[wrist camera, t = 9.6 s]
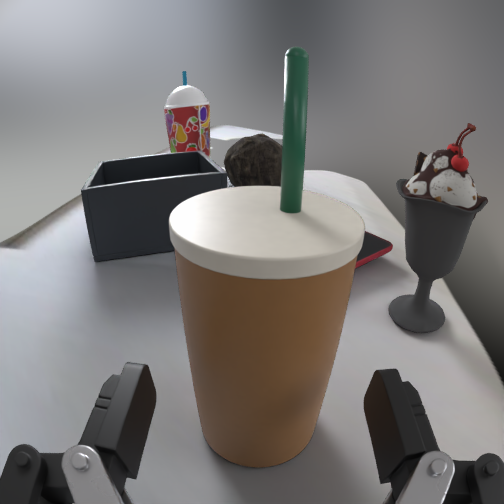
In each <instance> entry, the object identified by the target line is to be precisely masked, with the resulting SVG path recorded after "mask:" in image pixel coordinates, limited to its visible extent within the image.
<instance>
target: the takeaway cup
mask: <svg viewBox="0 0 504 504" xmlns="http://www.w3.org/2000/svg"><path fill="white" fill-rule="evenodd" d="M308 66H309V57H308V54H307V52H306V51H305V50H304V49H303V48H301V47H293V48H290V49H289V50H288V51H287V52H286V54H285V81H284V118H283V146H282V170H281V187H278V186H241V187H231V188H224V189H219V190H214V191H210V192H206V193H202V194H199V195H196V196H194V197H192V198H189V199H187V200H185V201H184V202H182V203H180V204H179V205H178V206H177V207H176V208H175V209H174V210H173V211H172V213H171V214H170V217H169V231H170V240H171V242H172V244H173V246H174V249H175V258H176V267H177V276H178V285H179V293H180V301H181V308H182V315H183V323H184V330H185V336H186V343H187V349H188V356H189V362H190V368H191V374H192V379H193V385H194V391H195V396H196V401H197V407H198V412H199V417H200V422H201V427H202V432H203V434H204V437H205V439H206V441H207V442H208V444H209V445H210V446H211V448H212V449H213V450H214V451H215V452H216V453H217V454H219V455H220V456H222V457H223V458H225V459H227V460H228V461H230V462H233V463H236V464H238V465H242V466H247V467H270V466H274V465H278V464H281V463H284V462H286V461H288V460H290V459H292V458H294V457H295V456H296V455H298V454H299V453H300V452H301V451H302V450H303V449H304V448H305V447H306V446H307V444H308V443H309V441H310V439H311V437H312V434H313V431H314V428H315V425H316V422H317V419H318V416H319V412H320V409H321V406H322V403H323V399H324V396H325V392H326V389H327V385H328V382H329V378H330V375H331V371H332V367H333V363H334V360H335V356H336V352H337V348H338V344H339V340H340V336H341V332H342V327H343V323H344V319H345V314H346V310H347V305H348V301H349V296H350V291H351V286H352V281H353V276H354V271H355V266H356V260H357V255H358V253H359V252H360V250H361V248H362V244H363V239H364V233H365V224H364V221H363V219H362V217H361V216H360V215H359V214H358V213H357V212H356V211H355V210H354V209H353V208H351V207H350V206H348V205H346V204H345V203H343V202H341V201H338V200H336V199H334V198H331V197H328V196H326V195H322V194H319V193H315V192H311V191H307V190H303V177H304V161H305V143H306V142H305V141H306V123H307V122H306V121H307V99H308Z"/></svg>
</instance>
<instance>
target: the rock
mask: <svg viewBox="0 0 504 504" xmlns="http://www.w3.org/2000/svg"><path fill="white" fill-rule="evenodd" d="M224 165H225V169H226V172H227V176H228V178H229V179H230V182H231V183H232V185H233V186H234V187H241V186H278V187H281V170H282V145H280V144H279V143H277V142H276V141H274V140H273V139H271V138H270V137H268V136H266V135H264V134H257V135H254V136H251V137H244V138H242V139H240V140H239V141H238V142H236V143H235V144H234V145H233V146H232V147H231V148H230V149H229V150H228V151H227V153H226V156H225V160H224Z"/></svg>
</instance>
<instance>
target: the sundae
mask: <svg viewBox="0 0 504 504" xmlns="http://www.w3.org/2000/svg"><path fill="white" fill-rule="evenodd" d="M469 129H470V131H469V132H467V133H466V134H464V135H463V137H462V138H461V136H462V134H463V133H464V132H465V131H467V130H469ZM475 130H476V127H475V126H473V125H472V124H470V123H468V127H467V128H466V129H465V130H464V131H463V132H461V134H460V136H459V137H458V139H457V141H456V143H455V144H454V143H453V144H450V145H449V146H448V148H447V150H437V151H434V152H432V153H431V154H430V155H429V156H427V155H425V154H424V153H422V152H419V153H418V157H417V161H416V166H415V172H414V176H413V177H412V178H411V179H410V180H407V179H400V180H398V181H397V183H396V185H397V189H398V192H399V194H400V195H401V196H402V197H403V198H405V213H406V220H405V221H406V222H405V223H406V225H405V247H406V260H407V262H408V264H409V265H410V267H411V268H412V270H413V271H414V272H415V273H416V274H417V275H418V277H419V281H418V286H417V290H416V292H415V294H414V295H403V296H399V297H397V298H396V299H394V300H393V301H392V302H391V304H390V306H389V314H390V316H391V317H392V319H393V320H394V321H395V322H396V323H397V324H398V325H400V326H401V327H403V328H404V329H407V330H410V331H413V332H419V333H428V332H432V331H435V330H438V329H439V328H440V327H441V326H442V325H443V324H444V322H445V315H444V312H443V309H442V308H441V307H440V306H439V305H438V304H437V303H436V302H434V301H433V300H431V299H429V295H430V289H431V286H432V283H433V281H434V280H436V279H439V278H442V277H444V276H445V275H447V274H448V273H450V272H451V271H452V270H453V269H454V267H455V265H456V263H457V261H458V259H459V257H460V254H461V251H462V249H463V246H464V243H465V240H466V237H467V234H468V232H469V229H470V226H471V223H472V221H473V219H474V218H475V215H476V213H477V212H479V211H481V209H483V207H484V206H485V205H486V204H487V202H488V200H487V198H486V197H481V196H478V194H477V193H476V188H475V183H474V181H473V179H472V178H471V176H470V175H469V173H468V169H467V168H468V166H469V162H468V160H467V159H466V158H465V157H464V156H463V149H462V147H461V144H462V141H463V139H464V137H465V136H466V135H468V134H469V133H471V132H473V131H475ZM460 138H461V140H460ZM459 140H460V143H459ZM458 143H459V145H458Z"/></svg>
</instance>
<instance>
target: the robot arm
mask: <svg viewBox="0 0 504 504" xmlns="http://www.w3.org/2000/svg"><path fill="white" fill-rule="evenodd" d="M155 405H156V389H155V386H154V383H153V380H152V376H151V373H150V369H149V367H148V365H146V364H138V363H130V362H127V363H126V364H125V366H124V368H123V370H122V373H121V375H112V376H111V377H110V378H109V379H108V380H107V381H106V382H105V383H104V384H103V386H102V389H101V391H100V393H99V398H97V400H96V403H95V407H94V408H93V410H92V412H91V415H90V417H89V420H88V422H87V425H86V427H85V430H84V432H83V435H82V437H81V440H80V442H79V443H78V445H76V446H73V447H71V448H69V449H68V450H67V451H66V452H65V453H39V452H38V451H37V450H36V449H35V448H34V447H33V446H30V445H27V444H22V445H18V446H16V447H15V448H14V449H13V450H12V451H11V452H10V454H9V456H8V459H7V461H6V464H5V467H4V470H3V472H2V475H1V478H0V504H72V503H75V504H133V502H132V500H131V498H130V496H129V494H128V492H127V491H126V489H125V487H124V486H125V482H126V478H127V477H128V478H132V479H136V478H137V474H138V470H139V466H140V462H141V458H142V454H143V450H144V446H145V443H146V439H147V435H148V431H149V428H150V424H151V420H152V417H153V413H154V409H155ZM364 412H365V416H366V420H367V424H368V429H369V433H370V437H371V441H372V446H373V450H374V455H375V459H376V464H377V469H378V474H379V479H380V484H384V483H389V482H391V487H392V489H391V490H390V492H389V494H388V495H387V497H386V499H385V501H384V502H383V504H504V463H503V461H502V459H501V458H500V457H499V456H497V455H495V454H492V453H487V454H484V455H482V456H480V457H479V458H478V459H477V460H476V461H458V460H452V459H451V457H450V456H449V455H447V454H446V453H444V452H441V451H440V449H439V447H438V445H437V442H436V439H435V436H434V434H433V431H432V428H431V425H430V422H429V420H428V417H427V414H425V409H424V406H423V405H422V401H421V399H420V396H419V394H418V391H417V390H416V389H415V388H414V387H413V386H412V385H411V383H410V382H409V381H407V382H402V380H401V377H400V375H399V372H398V370H397V369H385V370H376V371H375V372H374V374H373V377H372V379H371V382H370V384H369V387H368V389H367V391H366V394H365V397H364Z"/></svg>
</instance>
